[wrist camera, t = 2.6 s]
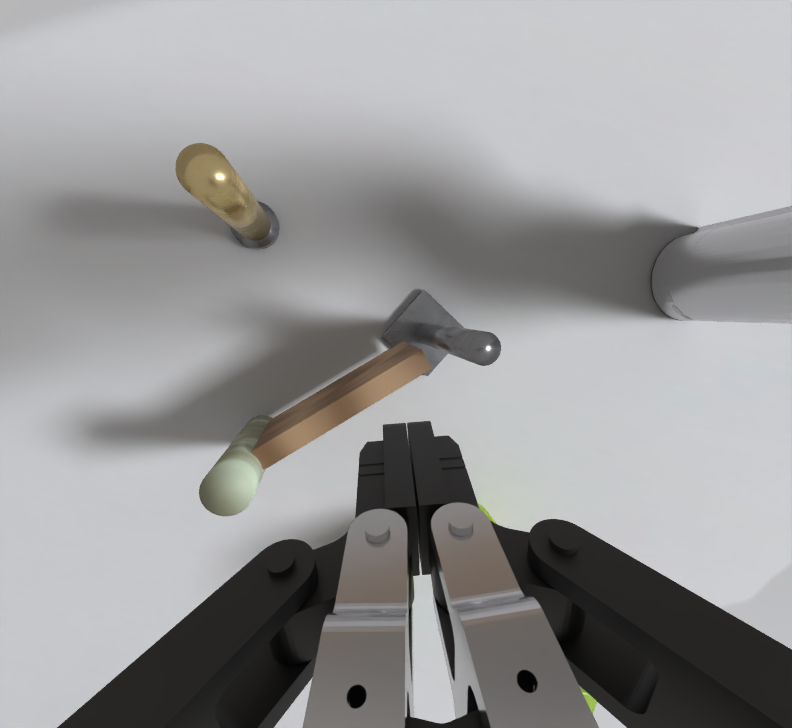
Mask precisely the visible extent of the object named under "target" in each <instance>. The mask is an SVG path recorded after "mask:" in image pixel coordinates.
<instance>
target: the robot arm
mask: <svg viewBox="0 0 792 728" xmlns="http://www.w3.org/2000/svg"><path fill="white" fill-rule="evenodd" d="M652 290H653V295H654V298H655V300H656V303H657V304H658V306H659V307H660V309H661V310H662V311H663V312H664V313H665V314H667V315H668V316H670V317H672V318H674V319H678V320H687V321H717V322H751V323H786V324H792V206H790V207H785V208H781V209H777V210H772V211H768V212H764V213H759V214H755V215H751V216H746V217H742V218H738V219H733V220H729V221H725V222H720V223H716V224H712V225H707V226H703V227H700V228H699V229H698V230H697V231H696V232H695V233H693V234H688V235H684V236H681V237H679V238H676V239H674V240H673V241H672V242H670V243H669V244H668V245H667V246H666V247H665V248H664V249H663V250H662V252H661V253H660V255H659V256H658V258H657V260H656V263H655V265H654V268H653V273H652ZM407 427H408V438H407V430H406V423H399V424H386V425H383V441H374V442H367V443H366V444H365V446H364V447H363V449H362V450H361V452H360V457H359V472H358V487H357V502H356V516H355V519H354V520H353V522H352V523H351V525H350V527H349V530H348V532H347V533H346V534H345V535H344V536H343V537H341V538H340V539H338V540H337V541H335V542H333V543H331V544H328V545H325V546H323V547H320V548H317V549H315V550H312V548H311V547H310V546H309V545H308V544H307V543H305V542H303V541H300V540H295V539H288V540H282V541H279V542H276V543H274V544H272V545H270V546H268V547H267V548H265V549H264V550H263V551H262V552H260V553H259V554H258V555H257V556H256V557H255V558H253V559H252V560H251V561H250V562H249V563H248V564H247V565H245V566H244V567H243V568H242V569H241V570H240V571H238V572H237V573H236V574H235V575H234V576H233V577H231V578H230V579H229V580H228V581H227V582H226V583H224V584H223V585H222V586H221V587H220V588H219V589H218V590H216V591H215V592H214V593H213V594H212V595H211V596H209V597H208V598H207V599H206V600H205V601H204V602H202V603H201V604H200V605H199V606H198V607H197V608H195V609H194V610H193V611H192V612H191V613H190V614H189V615H187V616H186V617H185V618H184V619H183V620H182V621H180V622H179V623H178V624H177V625H176V626H175V627H173V628H172V629H171V630H170V631H169V632H168V633H166V634H165V635H164V636H163V637H162V638H161V639H160V640H158V641H157V642H156V643H155V644H154V645H153V646H151V647H150V648H149V649H148V650H147V651H146V652H144V653H143V654H142V655H141V656H140V657H139V658H137V659H136V660H135V661H134V662H133V663H132V664H131V665H129V666H128V667H127V668H126V669H125V670H124V671H122V672H121V673H120V674H119V675H118V676H117V677H115V678H114V679H113V680H112V681H111V682H110V683H108V684H107V685H106V686H105V687H104V688H103V689H102V690H100V691H99V692H98V693H97V694H96V695H95V696H93V697H92V698H91V699H90V700H89V701H88V702H86V703H85V704H84V705H83V706H82V707H81V708H79V709H78V710H77V711H76V712H75V713H74V714H73V715H71V716H70V717H69V718H68V719H67V720H66V721H64V722H63V723H62V724H61V725H60V726H59V727H57V728H274V726H275V725H276V724H277V723H278V721H279V720H280V719H281V717H282V716H283V715H284V713H285V712H286V711H287V710H288V708H289V707H290V706H291V704H292V703H293V702H294V700H295V699H296V698H297V697H298V695H299V694H300V693H301V691H302V690H303V689H304V687H305V686H306V685H307V684H308V682H309V681H310V680H311V678H312V677H313V678H312V683H311V688H310V693H309V698H308V703H307V708H306V713H305V718H304V723H303V728H599V727H598V725H597V722H596V720H595V718H594V716H593V714H592V712H591V710H590V708H589V706H588V704H587V702H586V699H585V697H584V695H583V693H582V691H581V689H580V687H581V688H582V689H584V690H585V691H586V692H587V693H588V694H589V695H590V696H592V697H593V698H594V699H595V700H596V701H597V702H598V703H600V704H601V705H602V706H603V707H604V708H605V709H607V710H608V711H609V712H610V713H611V714H612V715H613V716H615V717H616V718H617V719H618V720H619V721H620V722H621V723H622V724H624V725H625V726H626V727H627V728H792V650H791V649H790V648H788V647H786V646H785V645H783V644H781V643H779V642H778V641H776V640H774V639H772V638H771V637H769V636H767V635H765V634H764V633H762V632H760V631H759V630H757V629H755V628H753V627H752V626H750V625H748V624H746V623H745V622H743V621H741V620H739V619H737V618H736V617H734V616H733V615H731V614H729V613H727V612H726V611H724V610H722V609H721V608H719V607H717V606H715V605H714V604H712V603H710V602H708V601H707V600H705V599H703V598H702V597H700V596H698V595H696V594H695V593H693V592H691V591H689V590H688V589H686V588H684V587H683V586H681V585H679V584H677V583H676V582H674V581H672V580H670V579H669V578H667V577H665V576H664V575H662V574H660V573H658V572H657V571H655V570H653V569H651V568H650V567H648V566H646V565H644V564H643V563H641V562H639V561H638V560H636V559H634V558H632V557H631V556H629V555H627V554H625V553H624V552H622V551H620V550H619V549H617V548H615V547H613V546H612V545H610V544H608V543H606V542H605V541H603V540H601V539H600V538H598V537H596V536H594V535H593V534H591V533H589V532H587V531H586V530H584V529H582V528H581V527H579V526H577V525H575V524H573V523H570V522H568V521H564V520H558V519H548V520H543V521H540V522H538V523H537V524H535V525H534V526H533V528H532V529H531V531H530V533H529V532H524V531H518V530H513V529H508V528H505V527H502V526H499V525H497V524H495V523H494V522H492V521H490V520H489V518H488V516H487V515H486V514H485V513H484V512H483V511H482V510H481V509H480V508H479V506H478V504H477V500H476V497H475V494H474V491H473V488H472V485H471V482H470V479H469V476H468V473H467V470H466V468H465V464H464V461H463V459H462V455H461V452H460V448H459V445H458V444H457V443H456V442H455V441H454V440H453V439H451V438H450V437H449V436H437V437H434V434H433V430H432V426H431V422H430V421H424V422H411V423H407ZM408 445H409V446H408ZM418 544H419V552H420V560H421V569H422V575H427V574H431V579H432V586H433V603H434V610H435V614H436V619H437V623H438V628H439V633H440V637H441V642H442V647H443V651H444V656H445V660H446V665H447V670H448V674H449V679H450V684H451V688H452V694H453V700H454V708H455V716H456V719H455V720H453V721H451V722H448V723H443V724H440V723H434V722H430V721H426V720H422V719H418V718H414V698H413V610H412V604H413V600H414V582H413V576H417V575H420V572H419V553H418ZM579 686H580V687H579Z"/></svg>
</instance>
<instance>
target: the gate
mask: <svg viewBox="0 0 792 728" xmlns="http://www.w3.org/2000/svg"><path fill="white" fill-rule="evenodd" d="M430 369H432V367H431V365H430V363H429V362H428V360H427V358H426V356H425V355H424V353H423V351H422V350H421V349H419V348H417V347H415V346H413V345H410V344H408V343H406V342H404V341H402V342H400V343H399V344H397V345H395V346H394V347H392V348H390V349H389V350H387V351H385V352H384V353H382V354H380V355H379V356H377V357H375V358H374V359H372V360H370V361H369V362H367V363H365V364H363V365H362V366H360V367H358V368H357V369H355V370H353V371H352V372H350V373H348V374H347V375H345V376H343V377H342V378H340V379H338V380H337V381H335V382H333V383H332V384H330V385H328V386H326V387H325V388H323V389H321V390H320V391H318V392H316V393H315V394H313V395H311V396H310V397H308V398H306V399H305V400H303V401H301V402H300V403H298V404H296V405H295V406H293V407H291V408H289V409H288V410H286V411H284V412H283V413H281V414H279V415H278V416H276V417H274V418H271V417H268V416H257V417H255V418H253V419H251V420H250V421H249V422H248V423H247V425H246V426H245V427H244V428H243V430H242V431H241V432H240V433H239V435H238V436H237V437H236V439H235V440H234V441H233V442H232V444H231V445H230V446H229V447H228V449H227V450H226V451H225V452H224V454H223V455H222V456H221V458H220V459H219V460H218V461H217V463H216V464H215V465H214V466H213V468H212V469H211V470H210V471H209V473H208V474H207V475H206V477H205V478H204V479H203V481H202V483H201V485H200V489H199V496H200V500H201V502H202V504H203V505H204V507H205V508H206V509H207V510H208V511H210V512H211V513H213V514H216V515H219V516H232V515H236V514H238V513H240V512H242V511H243V510H245V509H246V508H247V507H248V505H249V504H250V502H251V500H252V498H253V496H254V494H255V491H256V489H257V487H258V485H259V482H260V480H261V478H262V476H263V474H264V471H265V469H266V468H268V467H270V466H271V465H273V464H275V463H276V462H278V461H280V460H281V459H283V458H285V457H286V456H288V455H289V454H291V453H293V452H294V451H296V450H298V449H299V448H301V447H303V446H304V445H306V444H308V443H309V442H311V441H313V440H314V439H316V438H318V437H319V436H321V435H323V434H324V433H326V432H328V431H329V430H331V429H333V428H334V427H336V426H338V425H339V424H341V423H343V422H344V421H346V420H347V419H349V418H351V417H352V416H354V415H356V414H357V413H359V412H361V411H362V410H364V409H366V408H367V407H369V406H371V405H372V404H374V403H376V402H377V401H379V400H381V399H382V398H384V397H386V396H387V395H389V394H391V393H392V392H394V391H396V390H397V389H399V388H401V387H402V386H404V385H405V384H407V383H409V382H410V381H412V380H414V379H415V378H417V377H419V376H420V375H422V374H424V373H425V372H427V371H429V370H430Z"/></svg>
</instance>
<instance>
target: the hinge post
mask: <svg viewBox="0 0 792 728" xmlns="http://www.w3.org/2000/svg"><path fill="white" fill-rule="evenodd" d="M382 337H384V338H385V339H386V340H387V341H388V342H389V343H390V344H391V345H393V346H395V345H397V344H399V343H400V342H402V341H404V342H406V343H408V344H410V345H413V346H415V347H417V348H419V349H421V350H422V351H423V353H424V355H425V356H426V358H427V360H428V362H429V363H430V365H431V367H432V369H430V370H429V371H427V372H425V373H424V374H425V375H426V376H428V375H429V374H430V373H431V372H432V371H433V370H434V368H435V367H436V366H437V365H438V364H439V363H440V362H441V361H442V359H443V358H444V357H445V356H446V355H447V354H448V353H449V354H452V355H454V356H457V357H460V358H462V359H465V360H468V361H470V362H473V363H476V364H478V365H482V366H486V365H490V364H492V363H493V362H495V361H496V360H497V358H498V357H499V355H500V351H501V344H500V341H499V339H498V338H497V337H496V336H495V335H494V334H492V333H490V332H484V331H477V330H470V329H465V328H464V327H463V326H462V325H460V324H459V323H458V322H457V321H456V320H455V319H454V318H453V317H452V316H451V315H450V314H449V313H448V312H447V311H446V310H445V309H444V308H443V307H442V306H441V305H440V304H439V303H437V302H436V301H435V300H434V299H433V298H432V297H431V296H430V295H429V294H428V293H427V292H426V291H425V290H422V291H421V292H420V293H419V294H418V295H417V297H416V298H415V299H414V300H413V301H412V302H411V303H410V304H409V306H408V307H407V308H406V309H405V310H404V311H403V312H402V314H401V315H400V316H399V317H398V318H397V319H396V320H395V321H394V323H393V324H392V325H391V326H390V327H389V328H388V329H387V331H386V332H385V333H384V334H383V335H382Z"/></svg>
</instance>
